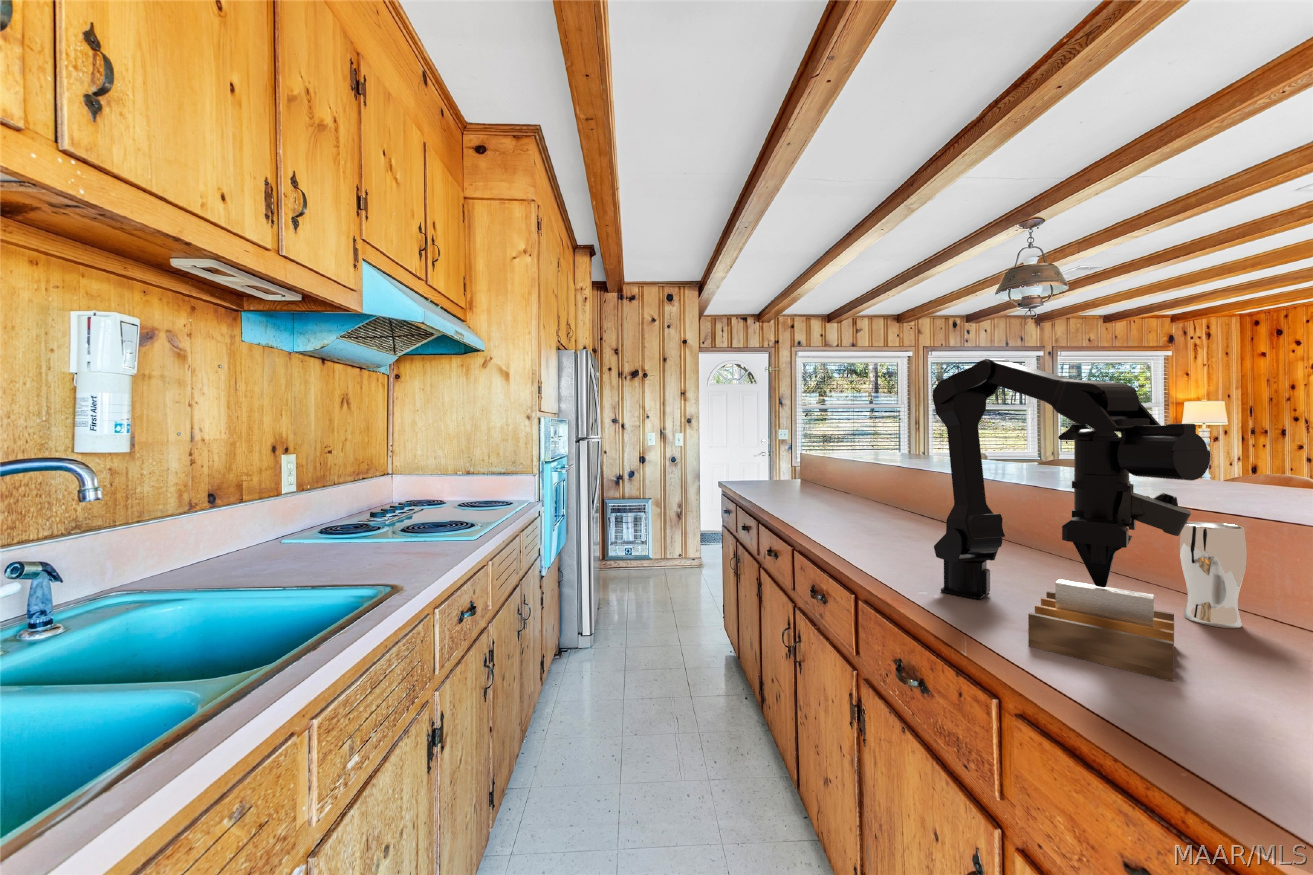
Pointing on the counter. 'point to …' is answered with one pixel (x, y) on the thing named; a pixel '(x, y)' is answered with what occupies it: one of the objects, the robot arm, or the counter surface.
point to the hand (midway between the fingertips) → (1100, 586)
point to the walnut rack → (1104, 639)
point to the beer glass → (1213, 572)
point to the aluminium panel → (1105, 602)
